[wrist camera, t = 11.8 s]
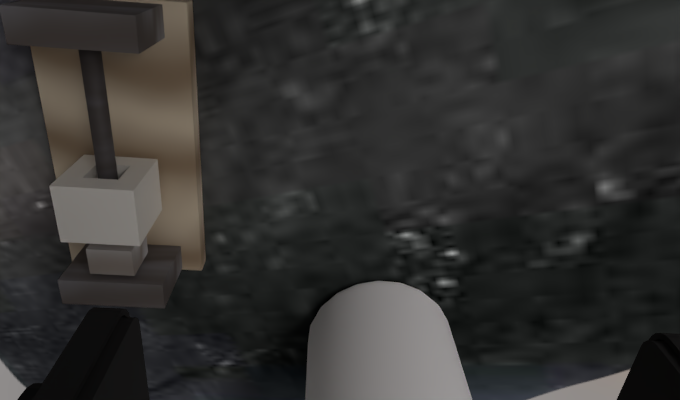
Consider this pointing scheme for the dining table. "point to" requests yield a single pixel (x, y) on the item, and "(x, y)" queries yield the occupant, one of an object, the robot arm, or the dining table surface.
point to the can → (383, 347)
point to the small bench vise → (121, 128)
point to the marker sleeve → (107, 202)
